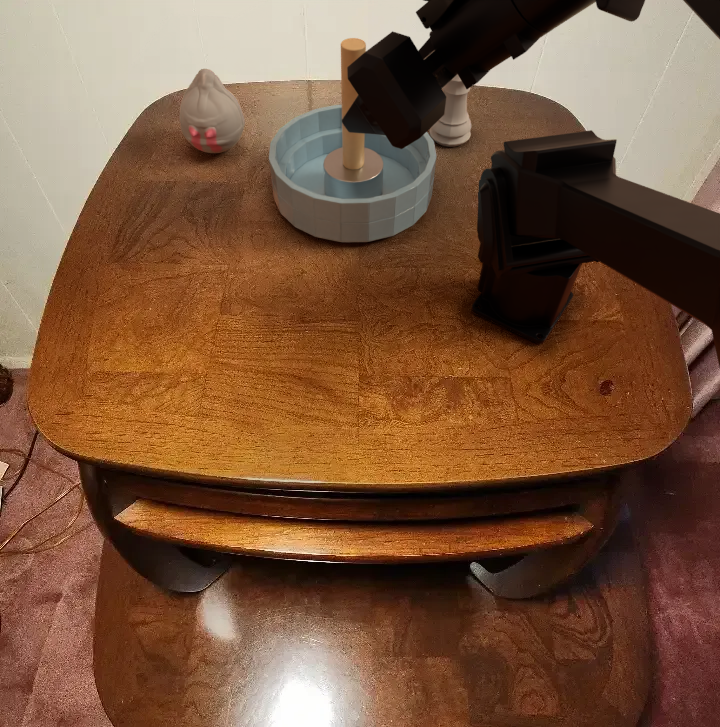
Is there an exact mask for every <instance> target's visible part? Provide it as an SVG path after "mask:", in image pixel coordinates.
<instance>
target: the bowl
mask: <svg viewBox="0 0 720 727" xmlns="http://www.w3.org/2000/svg"><path fill="white" fill-rule="evenodd" d="M364 147H365V148H368V149H371V150H373V151H375V152H376V153H378V154H379V155H380V157H381V158H382V160H383V187H382V194H381V196H376V197H372V198H363V199H340V198H335V197H330V196H326V194H325V187H324V166H323V164H324V160H325V158H326V156H327V155H328V154H329V153H331V152H332V151H334V150H336V149H338V148H342V103H340V104H333V105H328V106H322V107H317V108H314V109H311V110H309V111H307V112H304V113H302V114H300V115H297V116H294V117H293V118H292V119H290V120H289V121H288V122H286V123H285V124H283V126H281V127H280V128H279V129H278V130H277V132H276V134H275V135H274V136H273V137H272V139H271V141H270V143H269V151H268V163H269V173H270V180H271V188H272V196H273V199H274V202H275V204H276V207H277V209H278V212H279V213H280V215H282V216H283V217H284V218H285V219H286V220H287V221H288V222H289V223H290V224H291V225H292V226H293V227H295V228H296V229H298V230H300V231H302V232H304V233H307V234H309V235H311V236H312V237H315V238H319V239H323V240H329V241H332V242H333V241H334V242H338V243H368V242H373V241H378V240H382V239H386V238H391V237H394V236H395V235H398V234H399V233H402V232H403V231H405V230H407V229H409V228H411V227H413V226H414V225H415V224H416V223H417V222H418V221H419V220H420V219H421V217H422V216H423V215H424V214H425V213H426V212H427V211H428V208H429V205H430V203H431V200H432V196H433V190H434V182H435V173H436V164H437V151H436V146H435V141H434V140H433V139H432V137H431V136H430V133H429V132H428V131H427V132H426V133H425V134H424V135H423V136H422V137H421V138H420V139H418V140H416V141H415V142H413V143H411V144H409V145H408V146H406V147H404V148H403V149H399V148H396V147H393V146H392V145H391V143H390V142H389V140H388V139H387V137H386V136H385V135H377V134H365V141H364Z"/></svg>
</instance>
